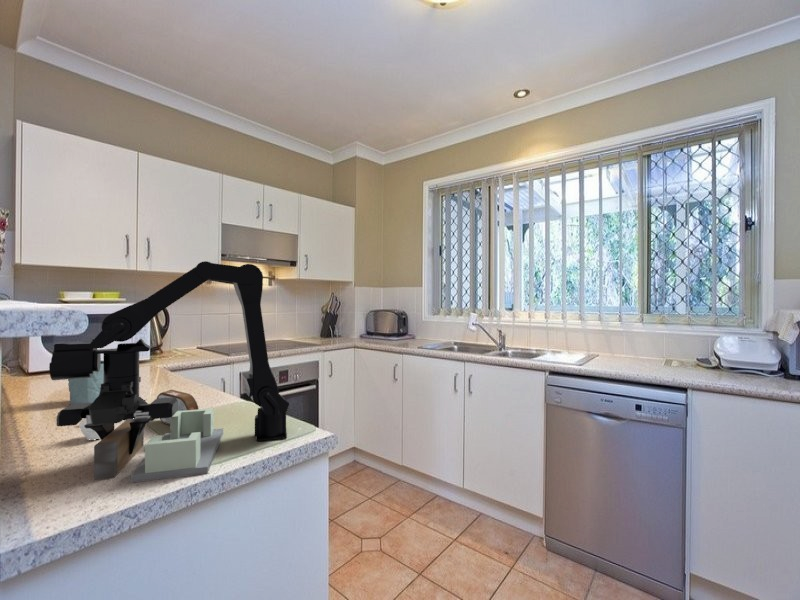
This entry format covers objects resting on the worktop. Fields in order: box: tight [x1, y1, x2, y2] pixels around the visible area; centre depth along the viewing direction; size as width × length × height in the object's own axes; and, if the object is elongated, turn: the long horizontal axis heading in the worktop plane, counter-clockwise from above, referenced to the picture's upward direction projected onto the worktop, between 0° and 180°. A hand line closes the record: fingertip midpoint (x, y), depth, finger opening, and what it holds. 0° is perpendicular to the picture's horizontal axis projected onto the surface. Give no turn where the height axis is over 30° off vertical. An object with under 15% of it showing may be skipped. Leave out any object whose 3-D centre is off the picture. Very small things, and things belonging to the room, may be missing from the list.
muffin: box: [78, 418, 101, 441], centre depth 88 cm, size 6×6×7 cm
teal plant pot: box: [67, 360, 104, 405], centre depth 118 cm, size 10×10×12 cm
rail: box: [93, 418, 145, 481], centre depth 76 cm, size 3×16×6 cm, turn 18°
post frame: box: [130, 407, 224, 483], centre depth 79 cm, size 12×22×6 cm, turn 18°
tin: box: [156, 389, 199, 426], centre depth 97 cm, size 15×3×8 cm, turn 59°
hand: (121, 454), depth 76 cm, fingers open, 3 cm apart
